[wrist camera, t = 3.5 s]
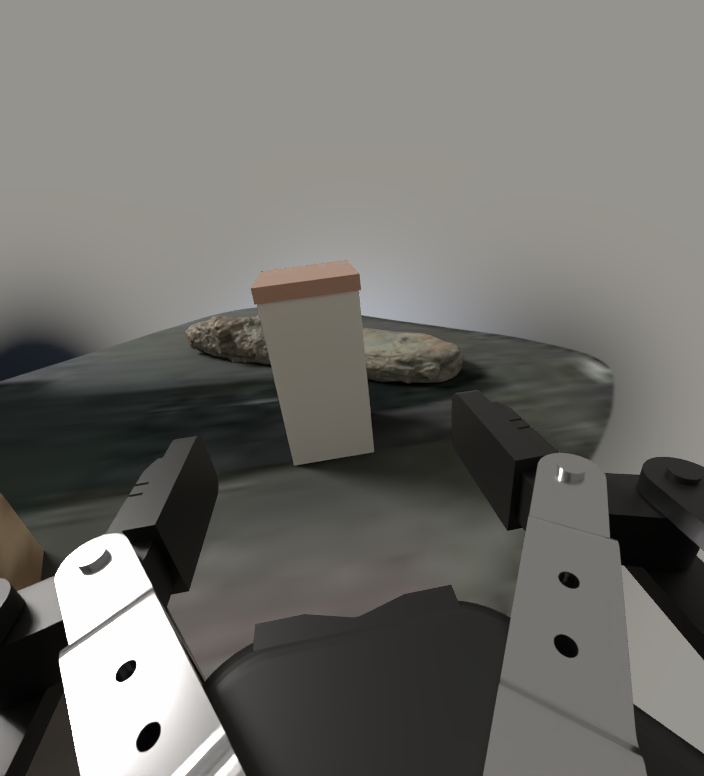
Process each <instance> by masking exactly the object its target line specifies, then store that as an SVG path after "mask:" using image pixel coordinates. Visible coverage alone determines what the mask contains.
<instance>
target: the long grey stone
mask: <svg viewBox="0 0 704 776" xmlns="http://www.w3.org/2000/svg"><path fill="white" fill-rule="evenodd" d="M362 330H363V340H364V350H365V361H366V371H367V379H370V380H375V381H381V382H400V381H401V382H405V383H407V384H410V383H412V382H415V383H433V382H434V383H436V382H443V381H447V380H449V379H452V378H453V377H455V376H457V375H458V373H459V372H460V370H461V368H462V367H463V358H464V355H463V354H462V353H461V352H460V348H459V347H458V346H456V345H455V344H453V343H449V342H445V341H442V340H440V339H439V338H434V337H433V336H431V335H427V334H419V333H409V332H406V333H401V332H393V331H386V330H378V329H370V328H362ZM185 335H186V336H187V338H188V339H189V344H190V346H191V347H192V348H193V349H200V350H202V351H204V352H205V353H208V354H211V355H213V356H217V357H222V358H225V357H226V358H228V359H229V360H231V362H244V363H250V362H257V363H260V364H264V365H268V364H271V363H270V359H269V354H268V350H267V346H266V341H265V337H264V333H263V328H262V324H261V320H260V315H258V316H256V317H242V318H229V317H223V316H213V317H212V318H211V320H208V321H203V322H199V323H196V324H192V325H191V326H190V327H189V328H188V330H187V331H186V333H185Z"/></svg>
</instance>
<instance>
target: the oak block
mask: <svg viewBox="0 0 704 776" xmlns="http://www.w3.org/2000/svg"><path fill="white" fill-rule="evenodd" d="M43 554H44V550H43V549H42V547H41V546H40V545H39V543H38V542H37V541H36V539H35V538H34V537H33V535H32V534H31V533H30V531H29V530H28V529H27V527H26V526H25V525H24V523H23V522H22V521H21V519H20V518H19V517H18V515H17V514H16V513H15V511H14V510H13V509H12V507H11V506H10V505H9V503H8V502H7V501H6V499H5V498H4V497H3V495H2V494H1V493H0V578H2V579H6V580H7V581H9V583H10V584H11V585H12V586H13V587H14V588H15V590H16V591H19V590H21V589H24V588H26V587H29V586H31V585H34V584H36V583H38V582H41V574H42V564H43Z"/></svg>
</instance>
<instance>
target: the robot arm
mask: <svg viewBox="0 0 704 776" xmlns="http://www.w3.org/2000/svg"><path fill="white" fill-rule="evenodd" d="M452 441H453V445H454V448H455V451H456V453H457V454H458V456H459V457H460V459H461V460H462V462H463V463H464V465H465V467H466V468H467V470H468V471H469V473H470V474H471V476H472V477H473V479H474V480H475V482H476V483H477V485H478V486H479V488H480V489H481V491H482V493H483V494H484V496H485V497H486V499H487V500H488V502H489V503H490V505H491V506H492V508H493V509H494V511H495V512H496V514H497V516H498V517H499V519H500V520H501V522H502V523H503V525H504V526H505V528H506V529H507V531H508V530H514V529H519V528H523V529H524V530H525V532H526V533H525V539H524V545H523V550H522V556H521V562H520V568H519V573H518V579H517V585H516V591H515V597H514V602H513V608H512V614H511V618H510V617H508V616H506V615H505V614H503V613H501V612H498V611H496V610H494V609H491V608H489V607H486V606H482V605H479V604H475V603H470V602H465V601H458V600H457V598H456V595H455V593H454V591H453V588H452V586H451V585H448V586H443V587H438V588H433V589H428V590H423V591H418V592H413V593H408V594H404V595H402V596H400V597H398V598H396V599H394V600H392V601H390V602H388V603H386V604H384V605H382V606H380V607H378V608H376V609H374V610H372V611H370V612H368V613H366V614H364V615H362V616H359V617H352V618H351V617H337V616H322V615H307V614H304V615H299V616H294V617H289V618H284V619H279V620H274V621H269V622H264V623H259V624H255V633H254V642H253V643H252V644H250V645H248V646H246V647H245V648H243V649H242V650H240V651H239V652H237V653H235V654H234V655H233V656H231V657H230V658H229V659H228V660H226V661H225V662H224V663H223V664H222V665H221V666H219V667H218V668H217V669H216V670H215V671H214V672H213V673H212V674H211V675H210V676H209V677H208V679H207V680H206V679H205V677H204V676H203V674H202V672H201V670H200V668H199V666H198V665H197V663H196V661H195V659H194V657H193V655H192V653H191V651H190V649H189V647H188V645H187V644H186V642H185V640H184V638H183V636H182V634H181V632H180V630H179V628H178V626H177V625H176V623H175V621H174V619H173V617H172V615H171V613H170V611H169V610H168V608H167V605H168V602H169V599H170V596H171V594H176V593H182V592H187V591H189V589H190V586H191V582H192V579H193V576H194V572H195V569H196V566H197V562H198V559H199V556H200V552H201V549H202V545H203V542H204V539H205V535H206V532H207V529H208V525H209V522H210V519H211V515H212V512H213V509H214V505H215V502H216V499H217V495H218V478H217V474H216V471H215V469H214V466H213V463H212V461H211V458H210V455H209V452H208V450H207V447H206V444H205V442H204V440H203V438H202V437H201V436H194V437H188V438H182V439H176V440H174V441H173V442H172V443H171V445H170V447H169V448H168V450H167V452H166V454H165V455H164V457H163V458H160V459H157V460H156V461H155V462H154V463H153V464H151V465H150V466H149V467H148V468H147V469H146V470H145V471H144V472H143V473H142V475H141V477H140V478H139V480H138V482H137V483H136V487H134V488H133V490H132V491H131V493H130V495H129V496H130V497H129V498H127V499H126V501H125V503H124V504H123V506H122V508H121V509H120V511H119V513H118V514H117V516H116V517H115V519H114V521H113V522H112V524H111V526H110V527H109V529H108V530H107V532H106V534H105V535H103V536H100V537H97V538H95V539H93V540H91V541H89V542H87V543H85V544H84V545H82V546H81V547H79V548H78V549H76V550H75V551H74V552H73V553H72V554H70V555H69V556H68V557H67V558H66V559H65V561H64V562H63V563H62V564H61V566H60V567H59V569H58V571H57V573H56V575H55V576H53V577H50V578H48V579H46V580H43V581H41V582H38V583H36V584H34V585H31V586H29V587H26V588H24V589H21V590H19V591H16V590H15V588H14V587H13V586H12V585H11V584H10V583H9V581H7V580H6V579H2V578H0V776H25V775H26V773H27V770H28V768H29V766H30V764H31V761H32V759H33V757H34V755H35V753H36V750H37V748H38V746H39V744H40V742H41V739H42V737H43V735H44V733H45V730H46V728H47V726H48V724H49V722H50V719H51V717H52V715H53V713H54V711H55V708H56V706H57V704H58V702H59V699H60V697H61V695H62V693H63V691H64V690H65V695H66V700H67V706H68V711H69V716H70V722H71V727H72V732H73V738H74V743H75V748H76V754H77V759H78V764H79V770H80V775H81V776H704V754H703V753H702V752H701V751H699V750H698V749H696V748H695V747H694V746H692V745H690V744H689V743H688V742H686V741H685V740H684V739H682V738H681V737H679V736H678V735H676V734H675V733H674V732H672V731H671V730H669V729H668V728H667V727H665V726H664V725H662V724H661V723H660V722H658V721H657V720H655V719H654V718H652V717H651V716H650V715H648V714H647V713H646V712H644V711H643V710H641V709H640V708H638V707H637V706H635V705H634V704H633V697H632V685H631V673H630V663H629V651H628V640H627V628H626V616H625V605H624V595H623V594H624V593H623V582H622V570H621V565H624V566H625V567H626V568H627V570H628V571H629V572H630V573H631V574H632V575H633V577H634V578H635V579H636V580H637V581H638V583H639V584H640V585H641V586H642V587H643V588H644V590H645V591H646V592H647V593H648V594H649V596H650V597H651V598H652V599H653V600H654V602H655V603H656V604H657V605H658V606H659V607H660V609H661V610H662V611H663V612H664V613H665V615H666V616H667V617H668V618H669V619H670V620H671V622H672V623H673V624H674V625H675V626H676V628H677V629H678V630H679V631H680V632H681V634H682V635H683V636H684V637H685V638H686V639H687V641H688V642H689V643H690V644H691V645H692V647H693V648H694V649H695V650H696V651H697V653H698V654H699V655H700V656H701V657H702V658H703V660H704V562H702V560H700V559H699V558H698V557H697V556H696V555H697V553H698V551H699V549H700V548H701V549H702V550H703V551H704V467H702V466H700V465H698V464H695V463H693V462H690V461H686V460H682V459H677V458H671V457H656V458H652V459H649V460H647V461H646V462H645V463H644V464H643V467H642V470H641V473H640V475H631V474H612V473H610V474H609V473H604V472H603V470H602V469H601V468H600V467H599V466H598V465H596V464H595V463H593V462H592V461H590V460H588V459H586V458H583V457H580V456H577V455H573V454H567V453H559V452H558V451H557V450H556V449H554V448H553V447H552V446H551V445H550V444H549V443H548V442H547V441H546V440H545V439H544V438H543V437H541V436H540V435H539V434H538V433H537V432H536V431H535V430H534V429H533V428H530V425H528V424H527V423H526V422H525V421H524V420H522V419H521V417H520V416H519V415H518V414H517V413H515V412H514V411H513V410H512V409H511V408H509V407H506V406H504V405H502V404H500V403H498V402H493V403H491V402H490V401H489V400H488V399H487V398H486V397H485V396H484V395H483V394H482V393H481V392H480V391H479V390H473V391H467V392H461V393H455V394H454V395H453V397H452Z"/></svg>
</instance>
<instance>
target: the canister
mask: <svg viewBox="0 0 704 776" xmlns="http://www.w3.org/2000/svg"><path fill="white" fill-rule="evenodd" d="M359 290H361V286H360V275H359V273H358V272H357V271H356V270H355V269H354V268H353V266H352V265H351V264H350V263H349V262H348V261H347V260H345V261H337V262H329V263H322V264H315V265H307V266H299V267H292V268H284V269H276V270H269V271H261V273H260V275H259V276H258V278H257V279H256V281H255V283H254V284H253V286H252V287H251V291H252V295H253V299H254V304H257V307H258V311H259V315H260V320H261V324H262V328H263V333H264V337H265V341H266V346H267V350H268V354H269V359H270V363H271V367H272V372H273V376H274V380H275V385H276V389H277V393H278V398H279V402H280V406H281V411H282V415H283V419H284V424H285V428H286V432H287V437H288V441H289V445H290V450H291V454H292V458H293V463H294V466H295V465H301V464H307V463H312V462H318V461H324V460H330V459H336V458H342V457H348V456H354V455H360V454H366V453H372V452H374V444H373V433H372V423H371V413H370V402H369V392H368V382H367V371H366V361H365V350H364V340H363V330H362V319H361V311H360V299H359Z"/></svg>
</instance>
